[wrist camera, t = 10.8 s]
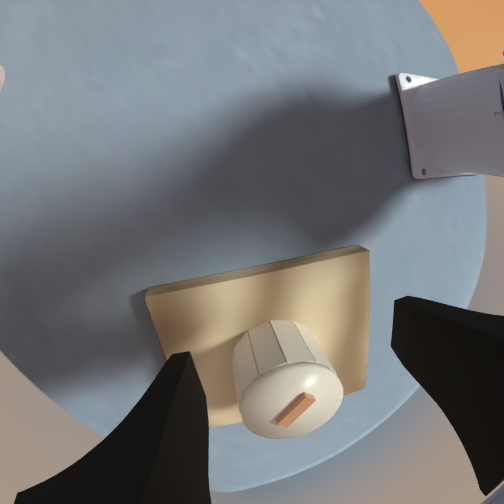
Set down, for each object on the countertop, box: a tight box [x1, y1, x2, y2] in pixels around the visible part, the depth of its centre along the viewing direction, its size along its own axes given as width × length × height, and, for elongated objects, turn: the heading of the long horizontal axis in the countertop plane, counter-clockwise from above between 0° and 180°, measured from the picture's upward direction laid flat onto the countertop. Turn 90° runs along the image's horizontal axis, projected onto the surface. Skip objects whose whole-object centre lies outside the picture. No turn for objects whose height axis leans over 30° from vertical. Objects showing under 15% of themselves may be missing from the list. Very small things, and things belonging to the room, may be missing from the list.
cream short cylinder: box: [232, 320, 343, 439], centre depth 16 cm, size 6×6×5 cm
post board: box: [145, 245, 370, 427], centre depth 17 cm, size 14×12×5 cm
